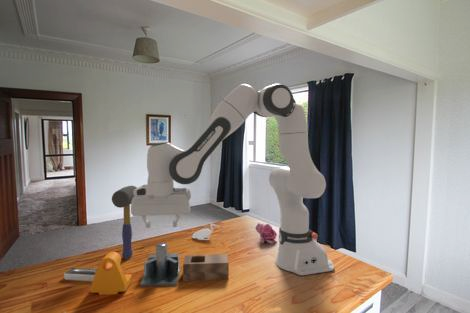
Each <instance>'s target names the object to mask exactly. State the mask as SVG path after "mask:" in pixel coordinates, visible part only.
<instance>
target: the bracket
mask: <svg viewBox="0 0 470 313" xmlns="http://www.w3.org/2000/svg"><path fill="white" fill-rule="evenodd" d="M121 263H122V255H120V253H118V252H116V251H109V252H107V254H106V255H105V256H104V257H103V258H102V259H101V260H100V261H99V264H98V266H97V268H96V269H97V271H96V273H95V276H94V279H93V281H91V284H90V288H89V290H90V294H91V293H94V294H95V293H96V294H97V293H98V295H99V296H101V295H102V296H104V295H105V296H106V295H117V294H119V292H126V291H127V290H128V288H129V286H130V284H131V283H132V282H133V278H132V277H133V276H132V274H131V273H129V274H128V273H126V274H125V273H124V270H123V268H122V266H121Z"/></svg>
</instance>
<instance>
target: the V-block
mask: <svg viewBox="0 0 470 313" xmlns="http://www.w3.org/2000/svg"><path fill="white" fill-rule="evenodd" d="M167 260H168V275H167V276H165V277H157V276H156V253H155V254H152V253H149V255H148V256H147V261H144V262H143V277H142V279H141V281H140V284H139V287H141V288H142V287H161V286H163V287H164V286H165V287H166V286H177V285H178V284H177V283H178V282H179V281H178V280H179V276H180V271H181V267H182V266H181V265H180V253H175V252H174V253H167Z"/></svg>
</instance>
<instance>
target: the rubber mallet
mask: <svg viewBox="0 0 470 313" xmlns="http://www.w3.org/2000/svg"><path fill="white" fill-rule="evenodd" d="M136 188H138V187H137V186H135V185H128V186H124V187H122V188H120V189H118V190H116V191H115V192H114V193H113V194H112V196H111V202H112V204H113V205H114V207H117V208H118V209H119V208H123V224H122V231H121V238H122V252H121V257H122V258H123V259H124V260H129V259H131V258H132V256H133V250H132V249H133V248H132V238H133V231H132V230H133V229H132V224H131V202H132V199H133V197H134V196H135V195H134V193H133V192H134V190H135V189H136Z"/></svg>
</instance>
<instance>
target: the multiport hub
mask: <svg viewBox="0 0 470 313" xmlns="http://www.w3.org/2000/svg"><path fill="white" fill-rule="evenodd" d="M96 271H97V268H83V267H82V268H78V267H72V268H70V269H69V270H67V271H66V272H64V273H63V278H64V279H65V280H64V279H63V280H64V281H66V280H67V281H81V282H84V281H85V282H92V281H93V279H94V276H95V273H96Z"/></svg>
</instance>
